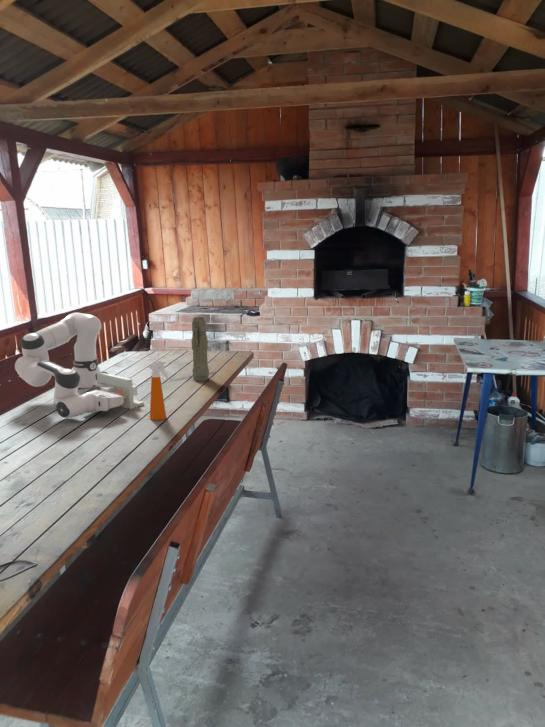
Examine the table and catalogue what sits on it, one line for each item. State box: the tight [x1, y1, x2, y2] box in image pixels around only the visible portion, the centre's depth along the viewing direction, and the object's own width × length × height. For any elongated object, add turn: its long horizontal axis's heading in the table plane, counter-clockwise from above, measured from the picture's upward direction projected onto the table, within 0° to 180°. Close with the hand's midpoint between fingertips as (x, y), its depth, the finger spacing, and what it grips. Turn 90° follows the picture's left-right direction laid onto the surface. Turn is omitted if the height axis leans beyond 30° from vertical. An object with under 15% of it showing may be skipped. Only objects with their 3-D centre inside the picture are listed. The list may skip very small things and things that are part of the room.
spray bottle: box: [148, 360, 170, 421], centre depth 239 cm, size 7×11×26 cm, turn 58°
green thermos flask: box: [190, 316, 210, 382], centre depth 305 cm, size 9×12×35 cm
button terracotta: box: [116, 385, 138, 399], centre depth 259 cm, size 5×9×5 cm, turn 143°
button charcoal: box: [91, 383, 107, 391], centre depth 265 cm, size 5×9×5 cm, turn 143°
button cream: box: [101, 385, 116, 393], centre depth 261 cm, size 5×9×5 cm, turn 143°
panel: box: [97, 371, 145, 410], centre depth 265 cm, size 24×8×14 cm, turn 53°
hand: (118, 394), depth 256 cm, fingers closed, pressing on button terracotta
